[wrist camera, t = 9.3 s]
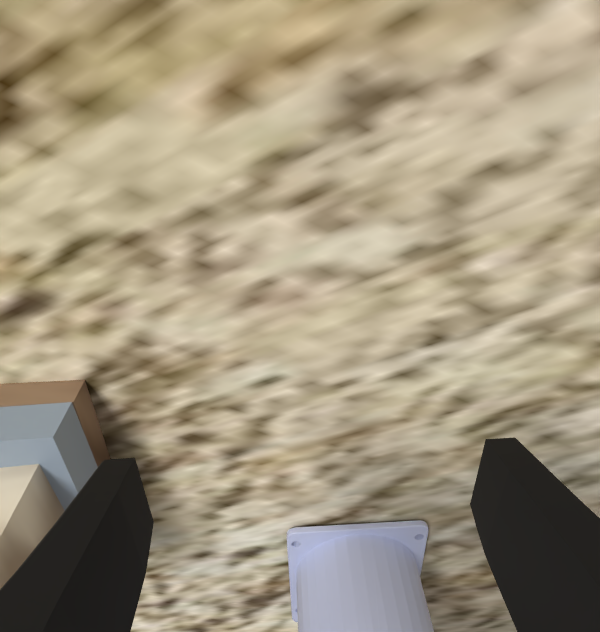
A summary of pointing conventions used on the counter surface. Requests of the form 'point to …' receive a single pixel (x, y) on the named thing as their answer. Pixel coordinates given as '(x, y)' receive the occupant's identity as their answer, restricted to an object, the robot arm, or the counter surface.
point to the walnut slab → (60, 394)
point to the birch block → (24, 514)
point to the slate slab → (48, 445)
